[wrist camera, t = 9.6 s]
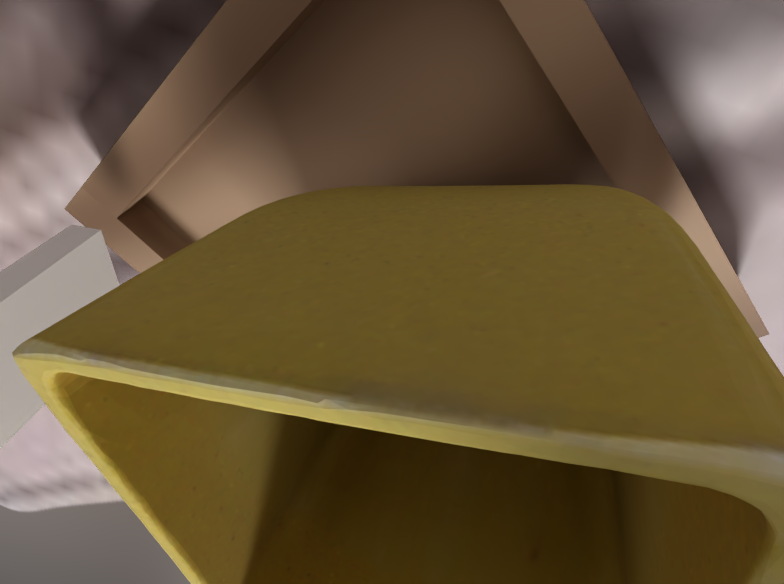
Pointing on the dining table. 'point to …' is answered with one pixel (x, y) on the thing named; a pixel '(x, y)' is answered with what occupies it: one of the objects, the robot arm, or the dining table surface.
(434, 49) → the walnut tray
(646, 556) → the flower pot
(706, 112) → the dining table surface
